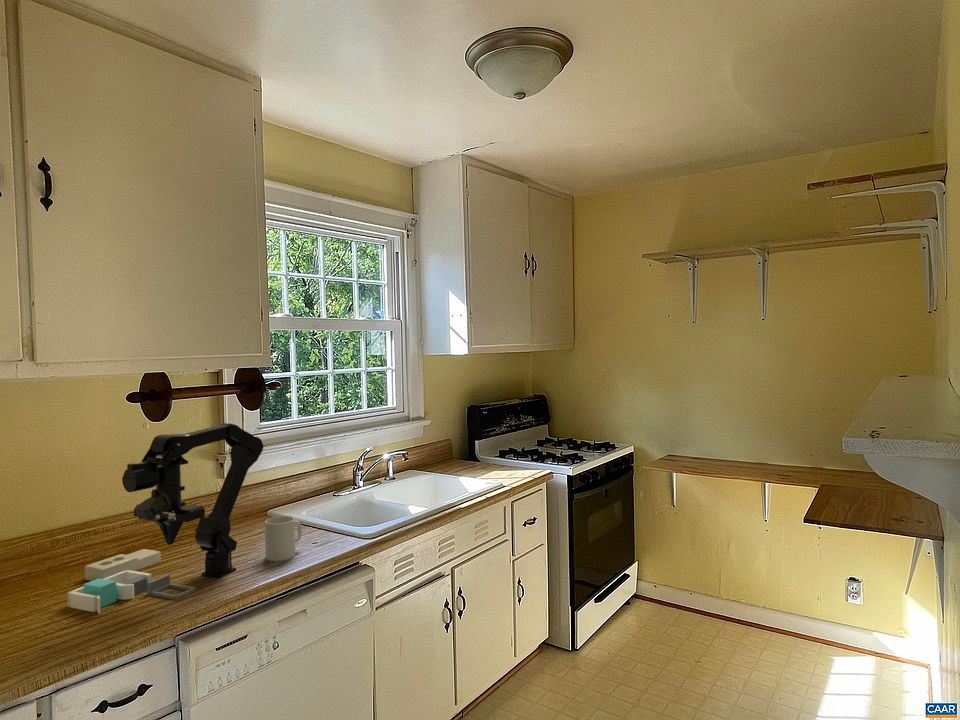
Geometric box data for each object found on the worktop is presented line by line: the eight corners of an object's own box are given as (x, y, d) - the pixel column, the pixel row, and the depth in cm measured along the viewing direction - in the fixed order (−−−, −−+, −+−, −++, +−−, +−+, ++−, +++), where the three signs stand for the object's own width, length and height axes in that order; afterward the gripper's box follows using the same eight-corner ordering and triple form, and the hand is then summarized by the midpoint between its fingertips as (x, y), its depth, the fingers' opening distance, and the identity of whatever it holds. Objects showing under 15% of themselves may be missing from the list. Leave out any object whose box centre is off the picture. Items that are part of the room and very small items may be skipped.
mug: (278, 563, 177) (277, 525, 177) (259, 558, 182) (258, 521, 181) (310, 551, 187) (309, 515, 187) (292, 546, 192) (291, 512, 191)
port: (157, 588, 160) (157, 574, 160) (98, 613, 145) (98, 599, 145) (127, 582, 164) (126, 569, 164) (66, 607, 149) (65, 593, 149)
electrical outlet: (160, 548, 181) (101, 569, 164) (161, 562, 181) (102, 584, 164) (143, 545, 184) (84, 565, 167) (144, 559, 184) (84, 580, 167)
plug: (82, 604, 151) (81, 583, 151) (97, 597, 155) (96, 578, 155) (101, 607, 149) (100, 587, 148) (116, 601, 152) (116, 581, 152)
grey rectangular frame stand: (146, 594, 156) (146, 582, 156) (167, 585, 162) (167, 574, 161) (176, 599, 152) (175, 587, 152) (196, 590, 158) (195, 578, 158)
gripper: (113, 488, 153) (115, 550, 154) (169, 493, 147) (171, 558, 147) (152, 479, 164) (153, 537, 164) (205, 483, 157) (207, 544, 157)
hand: (170, 544), depth 158 cm, fingers closed
